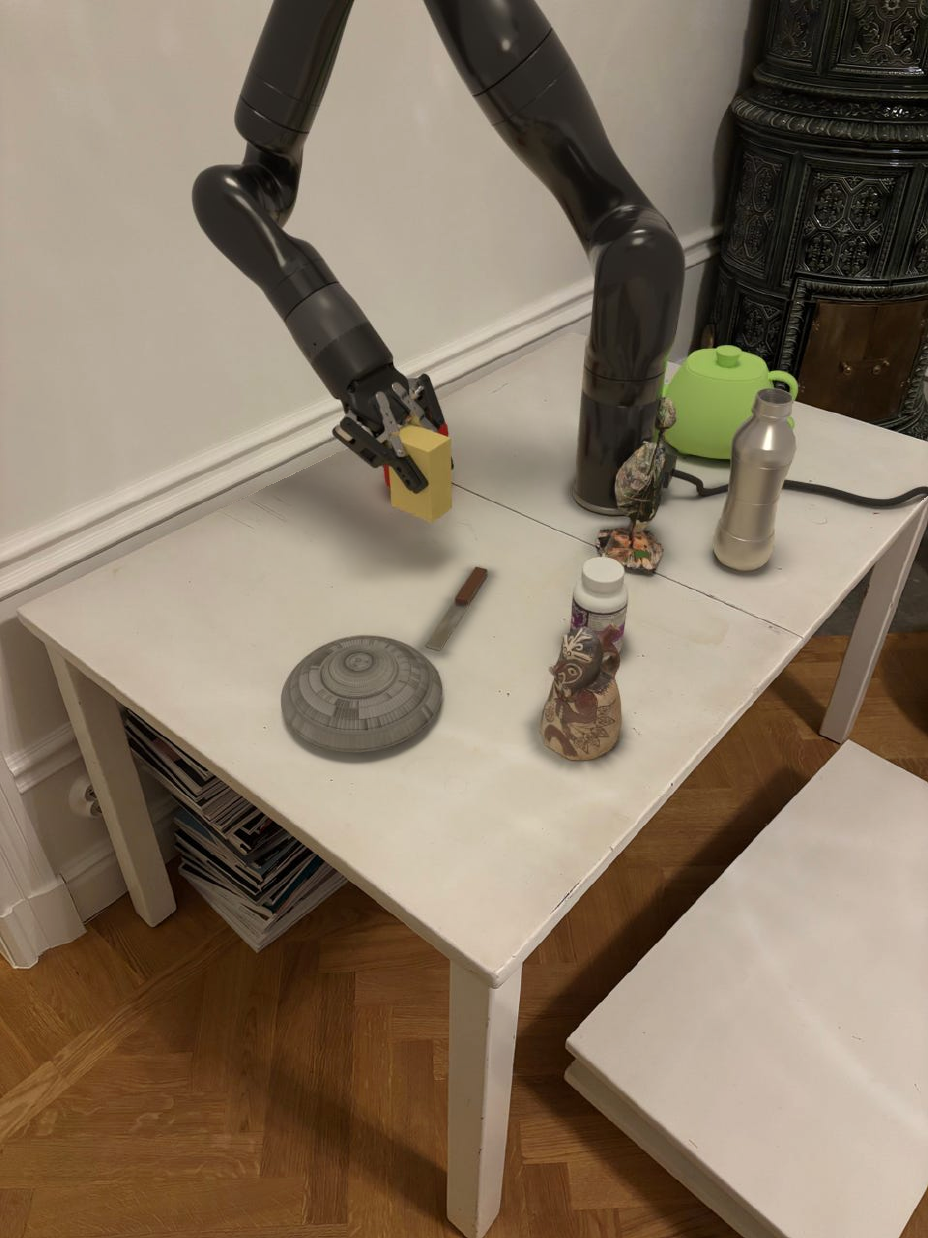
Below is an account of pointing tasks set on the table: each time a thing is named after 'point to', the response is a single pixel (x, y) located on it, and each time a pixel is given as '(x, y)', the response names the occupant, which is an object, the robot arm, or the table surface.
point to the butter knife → (457, 609)
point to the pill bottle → (600, 598)
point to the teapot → (717, 398)
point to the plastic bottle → (756, 482)
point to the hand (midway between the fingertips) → (435, 480)
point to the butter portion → (425, 474)
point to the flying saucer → (361, 694)
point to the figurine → (584, 696)
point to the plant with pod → (640, 499)
